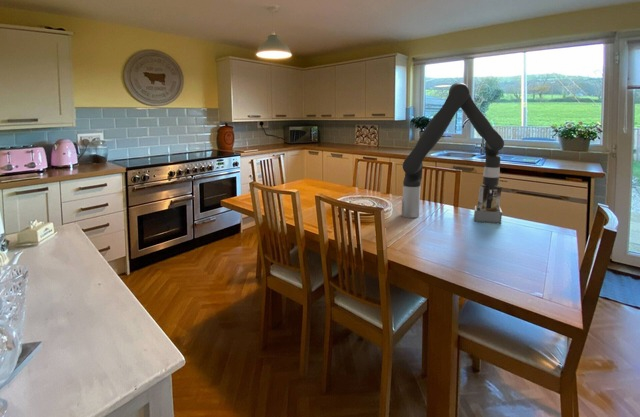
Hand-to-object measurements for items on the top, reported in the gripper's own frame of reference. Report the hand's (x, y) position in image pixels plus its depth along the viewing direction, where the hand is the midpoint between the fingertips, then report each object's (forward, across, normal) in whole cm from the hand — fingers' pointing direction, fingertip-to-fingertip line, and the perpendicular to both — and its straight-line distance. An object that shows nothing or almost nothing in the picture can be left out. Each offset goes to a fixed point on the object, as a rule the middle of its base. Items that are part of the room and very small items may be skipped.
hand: (488, 206), depth 201 cm
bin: (+8, 0, 0) cm, 8 cm away
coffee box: (+5, 0, 0) cm, 5 cm away
